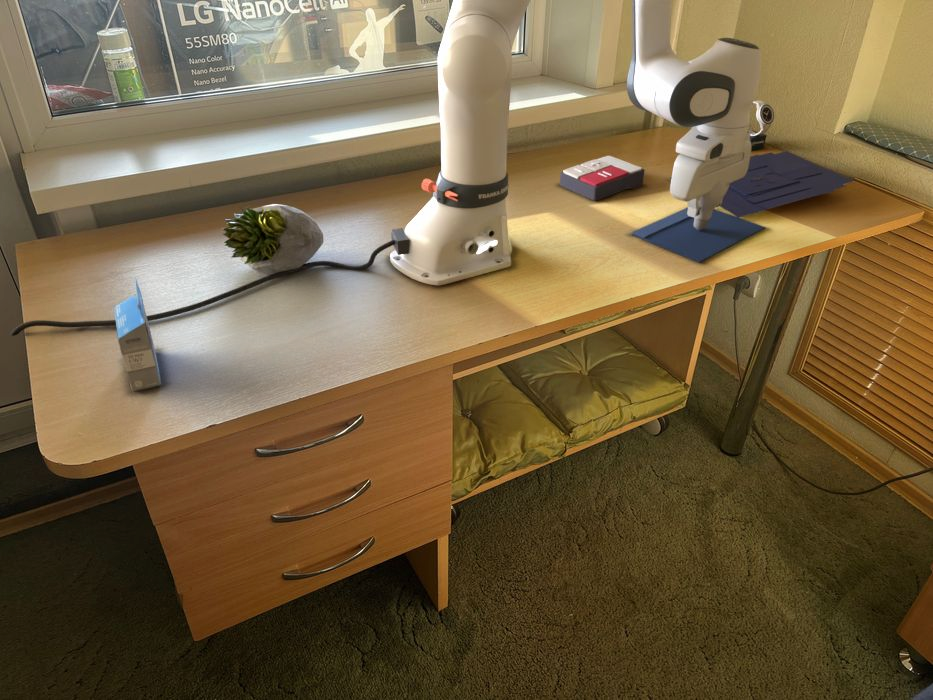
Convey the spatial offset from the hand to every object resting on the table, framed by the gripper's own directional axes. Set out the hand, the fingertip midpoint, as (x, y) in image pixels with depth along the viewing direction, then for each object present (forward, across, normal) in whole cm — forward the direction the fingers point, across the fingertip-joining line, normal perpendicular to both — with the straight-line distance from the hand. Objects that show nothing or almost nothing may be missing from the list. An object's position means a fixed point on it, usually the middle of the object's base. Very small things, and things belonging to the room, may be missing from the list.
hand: (704, 210), depth 133 cm
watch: (+5, -53, -21) cm, 57 cm away
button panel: (+4, -4, -28) cm, 28 cm away
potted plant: (+4, +69, -38) cm, 79 cm away
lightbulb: (+4, 0, 0) cm, 4 cm away
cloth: (+4, 0, 0) cm, 4 cm away
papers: (+4, -28, -4) cm, 29 cm away
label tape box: (+4, +97, -23) cm, 100 cm away
